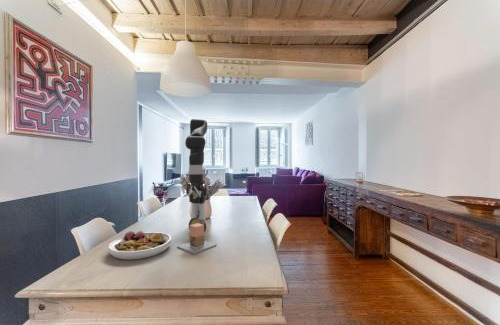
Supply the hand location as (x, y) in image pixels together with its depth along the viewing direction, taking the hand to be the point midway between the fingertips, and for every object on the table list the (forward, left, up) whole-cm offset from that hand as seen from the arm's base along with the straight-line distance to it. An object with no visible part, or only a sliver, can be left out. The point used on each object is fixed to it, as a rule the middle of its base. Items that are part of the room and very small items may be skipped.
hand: (196, 202), depth 131 cm
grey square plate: (0, 0, -24) cm, 24 cm away
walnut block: (0, 0, -23) cm, 23 cm away
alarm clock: (-13, +11, -24) cm, 30 cm away
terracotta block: (0, 0, -18) cm, 18 cm away
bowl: (-20, -21, -25) cm, 38 cm away
